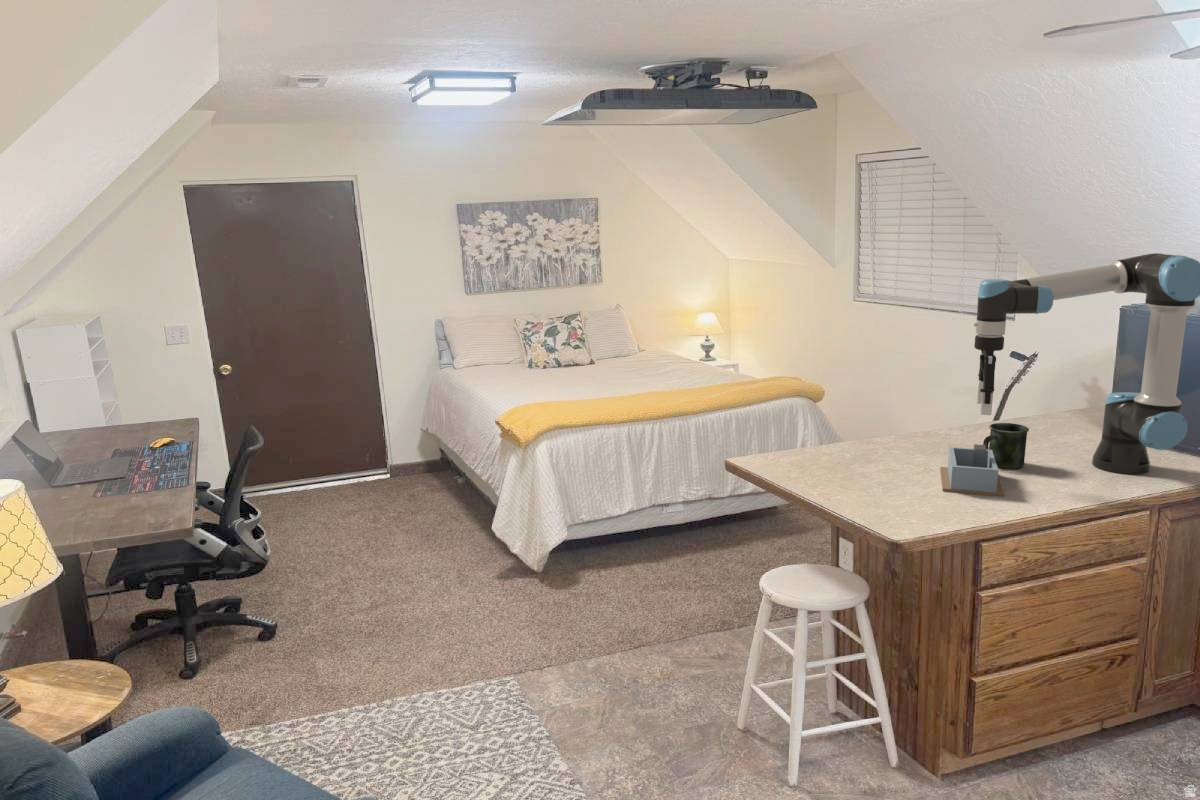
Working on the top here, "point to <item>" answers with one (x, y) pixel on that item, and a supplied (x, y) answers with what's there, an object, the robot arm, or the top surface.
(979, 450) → the brushed grey block
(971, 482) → the box
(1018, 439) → the mug
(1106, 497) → the top surface
